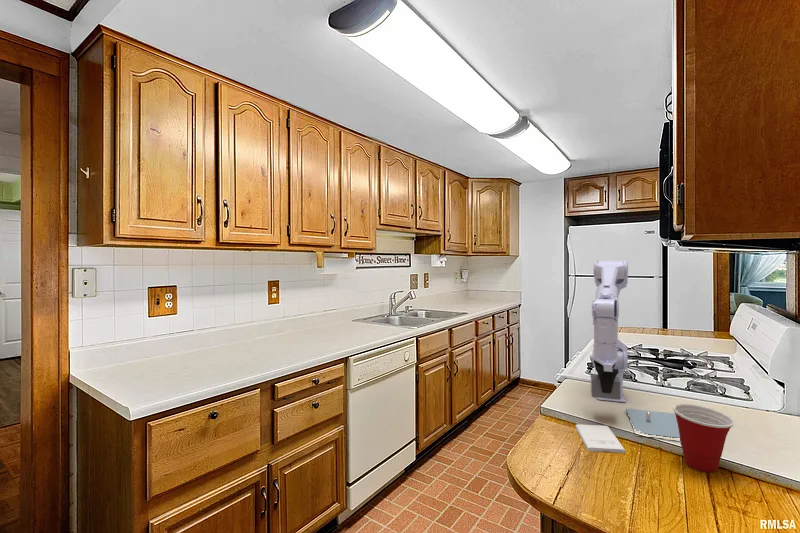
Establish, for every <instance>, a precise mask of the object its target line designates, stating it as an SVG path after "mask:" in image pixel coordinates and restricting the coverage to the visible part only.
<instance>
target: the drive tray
mask: <svg viewBox="0 0 800 533" xmlns="http://www.w3.org/2000/svg"><path fill="white" fill-rule="evenodd" d="M626 411H627V413H628V415H629V418H630V420H631V422H632V424H633V426H634V429H636V431H639V430H640V431H641V432H640V433H644V434H648V435H656V436H663V437H670V438H671V437H672V438H680V435H679V429H678V423H677V419H676V414H675V412H674V413H671V412H663V411H654V410H646V409H637V408H636V409H634V408H627V407H626V409H625V412H626ZM627 413H626V414H627ZM628 415H627V416H628ZM629 418H628V419H629ZM630 420H629V421H630Z"/></svg>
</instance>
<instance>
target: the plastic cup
mask: <svg viewBox="0 0 800 533" xmlns="http://www.w3.org/2000/svg"><path fill="white" fill-rule="evenodd" d="M672 410H673V412H674V413H675V414H676V419H677V423H678V429H679V435H680V441H681V442H680V446H681V448H682V454H683V459H684V461H685V464H686V465H687V466H688V467H689V468H691V469H693V470H695V471H700V472H702V473H707V474H709V473H715V472H718V469H719V468H720V467H719V466H720V462H721V458H722V455H723V451H724V449H725V448H724V447H725V444H726V440H727V436H728V433H729V432H730V429H731V428H732V427H734V425H735V420H734V419H733V418H732V417H731V416H729V415H727V414H726V413H724V412H722V411H719V410H716V409H714V408H710V407H706V406H703V405H699V404H692V403H678V404H674V405H673V407H672Z"/></svg>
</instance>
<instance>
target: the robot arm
mask: <svg viewBox="0 0 800 533" xmlns="http://www.w3.org/2000/svg"><path fill="white" fill-rule="evenodd" d="M593 278H594V284H595V286H596V292H595V299H594V300H592V302H591V316H592V325H593V349H592V353H591V354H592V355H591V354H590V355H589V360H591V361H592V365H593V367H594V369H595V371H596V373H597V375H599V379H600V384H601V389H602V392H603V393H611V391H612V387H613V383H614V379H615V377H619V380H620V400H616V399H607V398H597V397H596V399H597V400H599V401H609V402H616V403H617V402H618V403H627V400H626V397H625V394H624V383H623V382H624V381H623V380H624V378H623V377H624V376H623V375H624V371H627V370H628V366H629V365H628V364H629V361H628V359H629V358H628V346H627V345H626V344H625V343H624V342H623V341H621V340H620V339H619V337H618V336H619V316H620V303H619V295H620V292H621V290H623V289H625V288H627V285H628V279H629V261H627V260H625V259H624V260H598V259H597V260H595V261H594V262H593Z"/></svg>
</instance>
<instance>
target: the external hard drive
mask: <svg viewBox="0 0 800 533" xmlns="http://www.w3.org/2000/svg"><path fill="white" fill-rule="evenodd" d="M575 429H576V431H577V432H578V434H579V437H580V439H581V441H582V442H583V444H584V446H585V448H586V450H587V451H588V452H597V453H598V452H599V453H605V452H606V453H613V454H626V449H625V448H624V447H623V445H622V444H621V442H620V440H618V438H617V437H616V436H615V434H614V432H613V431H612V430H611V429H610V427H609V426H608V425H601V424H600V425H596V424H578V423H576V424H575Z"/></svg>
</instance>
